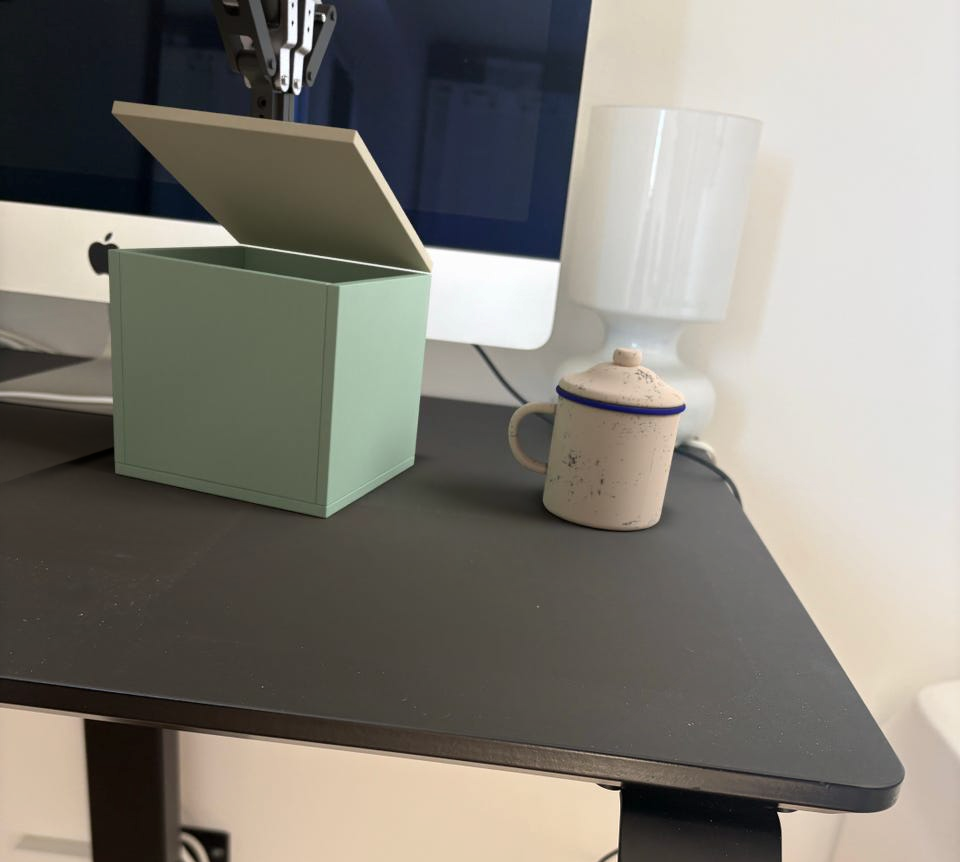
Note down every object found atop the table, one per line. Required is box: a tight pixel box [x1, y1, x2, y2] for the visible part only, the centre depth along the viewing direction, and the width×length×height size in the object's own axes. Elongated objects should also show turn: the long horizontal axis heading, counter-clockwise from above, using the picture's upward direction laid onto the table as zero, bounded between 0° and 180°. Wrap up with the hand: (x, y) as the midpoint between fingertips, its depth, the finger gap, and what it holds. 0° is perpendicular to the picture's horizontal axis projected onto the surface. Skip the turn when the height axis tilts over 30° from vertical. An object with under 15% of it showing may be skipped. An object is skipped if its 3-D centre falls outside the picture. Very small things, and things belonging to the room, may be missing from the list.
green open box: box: [107, 245, 432, 519], centre depth 70 cm, size 17×16×14 cm
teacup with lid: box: [507, 347, 687, 532], centre depth 71 cm, size 12×9×12 cm
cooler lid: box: [111, 100, 434, 274], centre depth 66 cm, size 17×16×1 cm
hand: (270, 158), depth 63 cm, fingers closed
